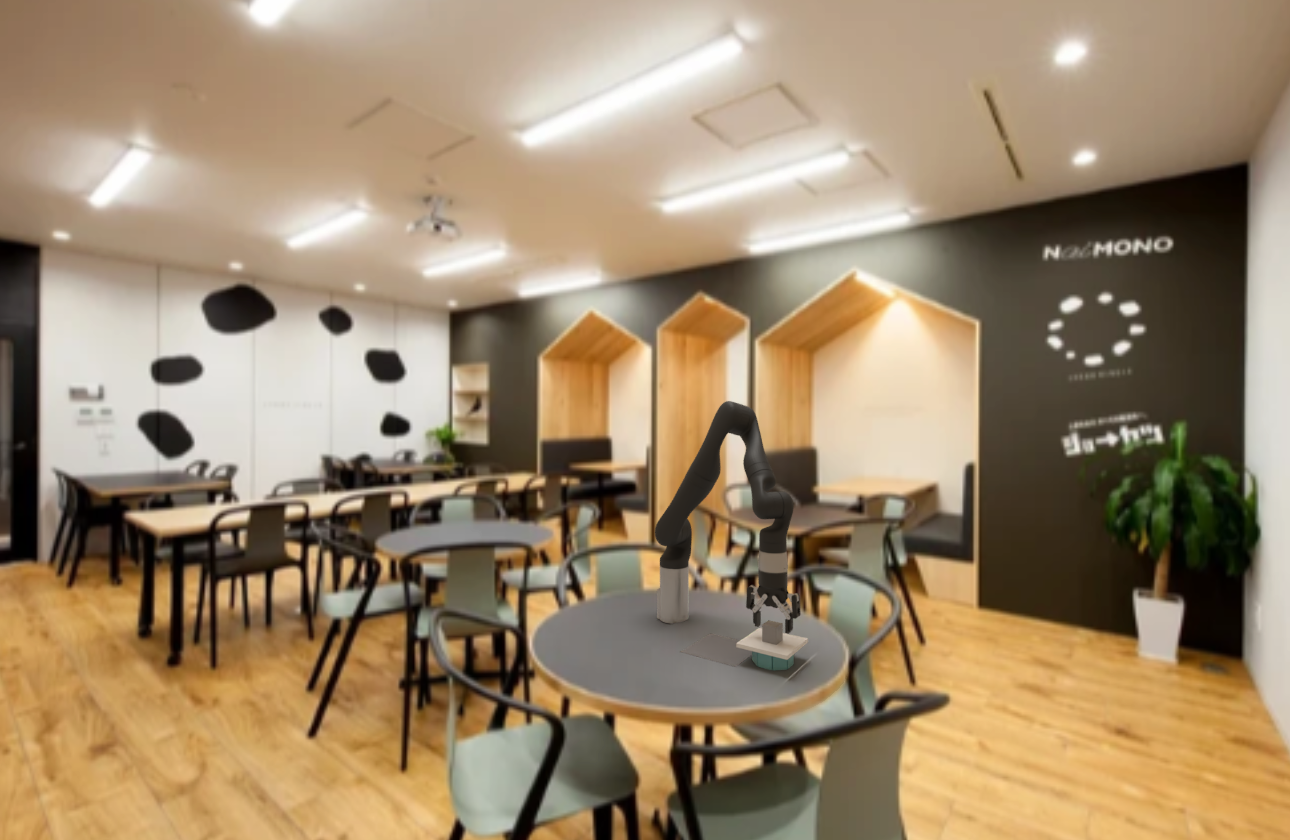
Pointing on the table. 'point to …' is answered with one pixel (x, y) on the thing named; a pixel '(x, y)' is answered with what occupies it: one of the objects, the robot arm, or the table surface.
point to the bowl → (771, 661)
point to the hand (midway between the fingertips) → (772, 629)
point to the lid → (772, 641)
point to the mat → (718, 650)
